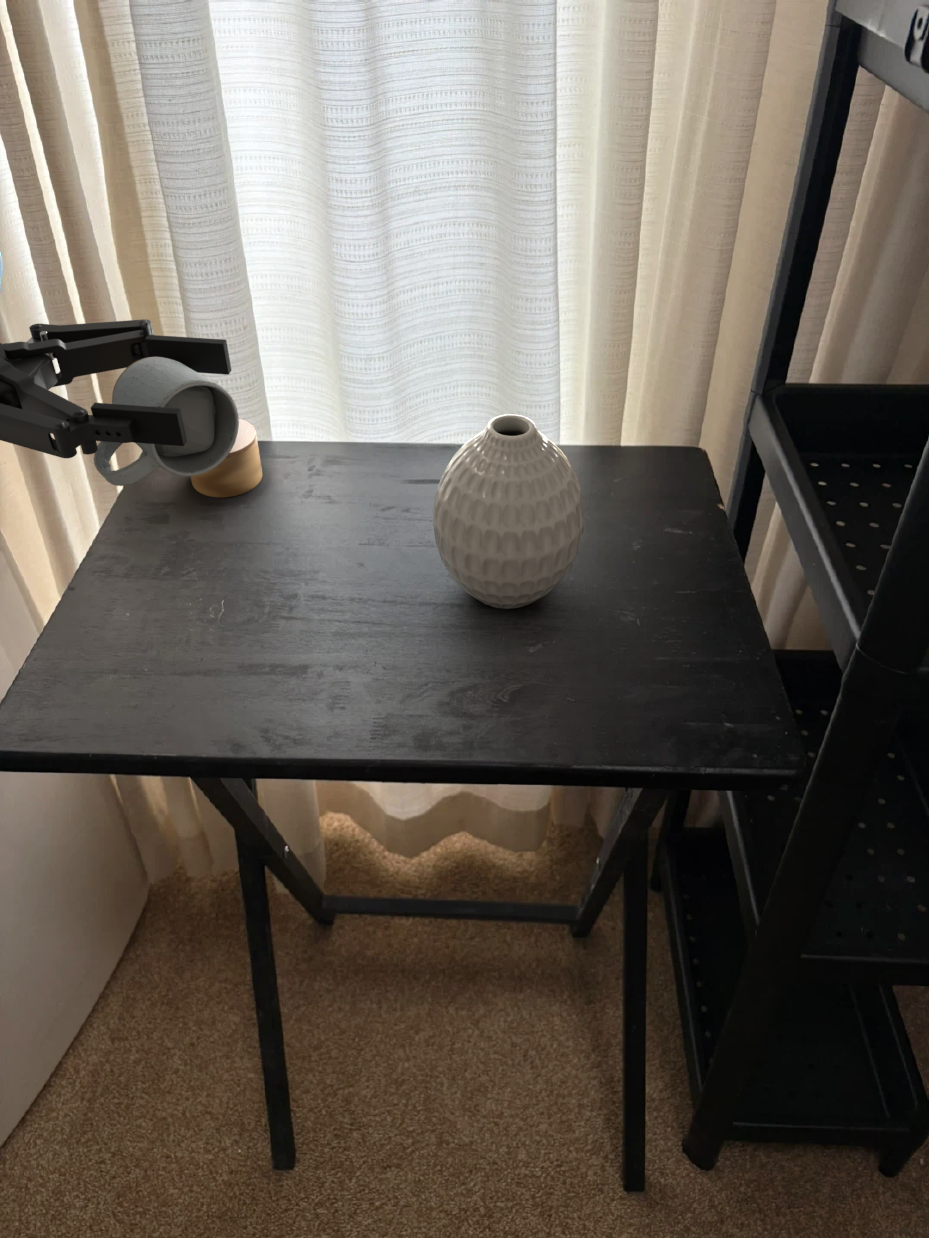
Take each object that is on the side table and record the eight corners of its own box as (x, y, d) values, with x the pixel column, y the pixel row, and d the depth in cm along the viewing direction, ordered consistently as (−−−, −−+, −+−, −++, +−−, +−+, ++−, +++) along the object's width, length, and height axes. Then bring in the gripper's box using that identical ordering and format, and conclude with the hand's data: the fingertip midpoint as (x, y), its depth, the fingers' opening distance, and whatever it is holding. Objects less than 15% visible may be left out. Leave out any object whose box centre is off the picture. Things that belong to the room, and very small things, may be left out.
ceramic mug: (195, 416, 88) (176, 332, 83) (248, 455, 83) (231, 369, 78) (79, 464, 83) (52, 378, 77) (129, 509, 78) (103, 421, 73)
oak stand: (193, 502, 103) (184, 459, 100) (189, 463, 108) (180, 422, 105) (266, 491, 104) (259, 449, 101) (258, 454, 109) (252, 412, 106)
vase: (476, 653, 87) (478, 488, 75) (411, 567, 95) (403, 408, 84) (605, 606, 91) (624, 444, 80) (532, 528, 99) (539, 372, 88)
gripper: (14, 348, 92) (255, 364, 90) (-128, 493, 76) (163, 517, 73) (-12, 267, 87) (242, 281, 85) (-170, 403, 71) (140, 425, 68)
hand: (206, 390), depth 79 cm, fingers closed on ceramic mug, 10 cm apart
